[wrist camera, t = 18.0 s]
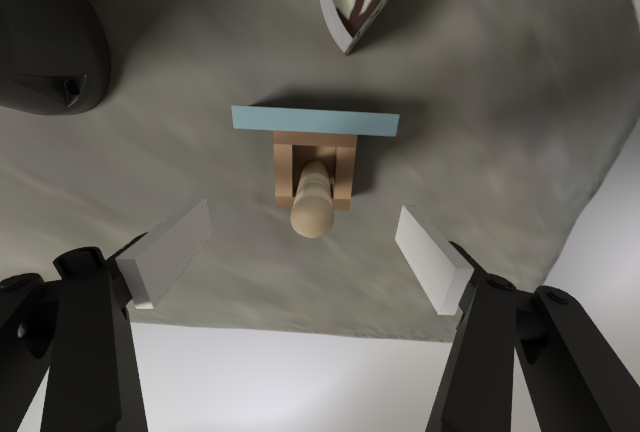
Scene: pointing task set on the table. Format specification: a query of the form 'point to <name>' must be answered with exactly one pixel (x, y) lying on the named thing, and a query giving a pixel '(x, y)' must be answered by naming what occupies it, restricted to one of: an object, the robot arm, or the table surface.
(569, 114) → the table surface
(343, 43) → the food container
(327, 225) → the dowel
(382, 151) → the table surface
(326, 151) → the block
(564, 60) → the table surface
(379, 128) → the wall
